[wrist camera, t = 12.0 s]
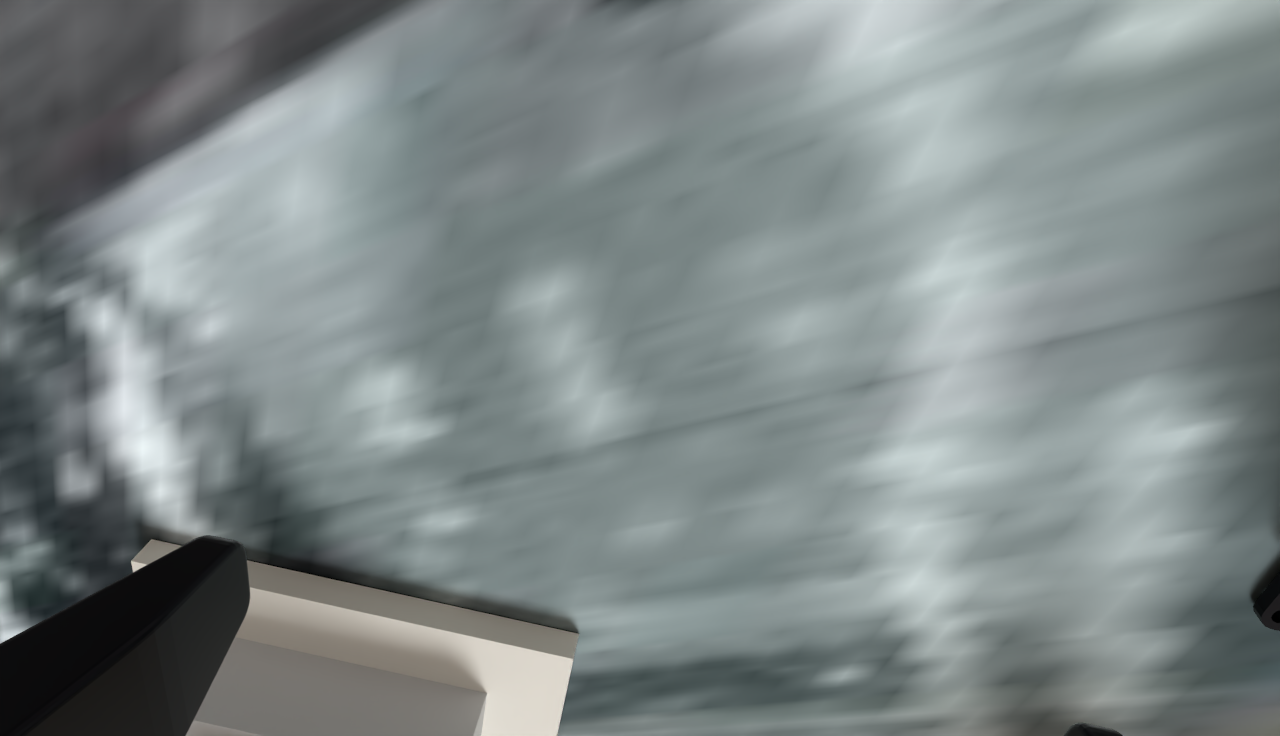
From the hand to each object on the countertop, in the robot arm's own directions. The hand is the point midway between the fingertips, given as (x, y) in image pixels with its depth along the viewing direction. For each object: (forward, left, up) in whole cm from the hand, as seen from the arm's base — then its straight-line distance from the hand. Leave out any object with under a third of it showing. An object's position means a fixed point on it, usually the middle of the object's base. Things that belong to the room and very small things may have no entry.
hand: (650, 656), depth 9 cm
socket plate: (+8, +21, -12) cm, 25 cm away
